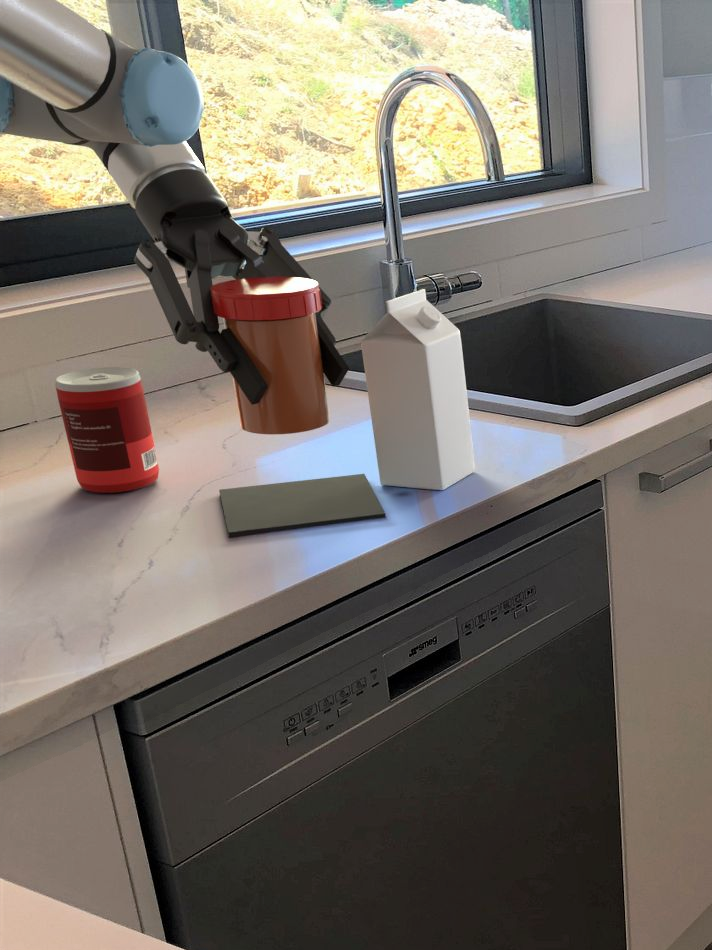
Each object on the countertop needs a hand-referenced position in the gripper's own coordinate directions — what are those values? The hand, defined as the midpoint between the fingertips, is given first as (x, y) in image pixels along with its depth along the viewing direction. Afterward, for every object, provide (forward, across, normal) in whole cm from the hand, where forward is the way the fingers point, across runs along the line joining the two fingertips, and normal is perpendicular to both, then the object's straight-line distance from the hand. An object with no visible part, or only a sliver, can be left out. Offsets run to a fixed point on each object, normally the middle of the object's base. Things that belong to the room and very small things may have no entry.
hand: (301, 385), depth 130 cm
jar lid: (-8, 0, +4) cm, 9 cm away
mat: (+7, 0, -11) cm, 13 cm away
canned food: (-8, +6, -26) cm, 28 cm away
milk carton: (+9, -14, -9) cm, 19 cm away
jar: (+1, 0, -5) cm, 5 cm away
